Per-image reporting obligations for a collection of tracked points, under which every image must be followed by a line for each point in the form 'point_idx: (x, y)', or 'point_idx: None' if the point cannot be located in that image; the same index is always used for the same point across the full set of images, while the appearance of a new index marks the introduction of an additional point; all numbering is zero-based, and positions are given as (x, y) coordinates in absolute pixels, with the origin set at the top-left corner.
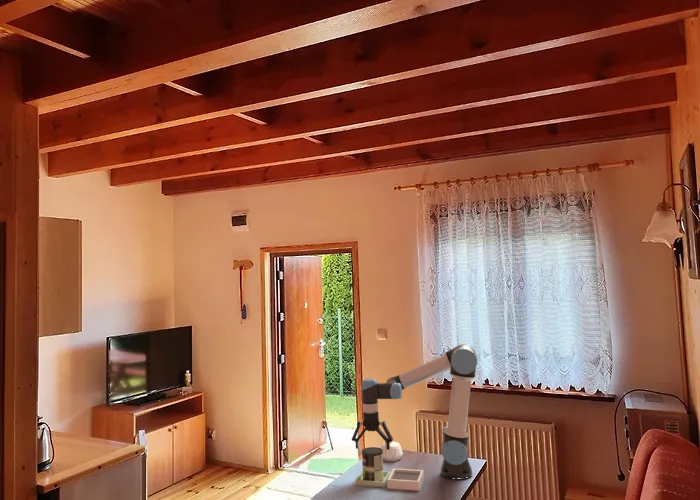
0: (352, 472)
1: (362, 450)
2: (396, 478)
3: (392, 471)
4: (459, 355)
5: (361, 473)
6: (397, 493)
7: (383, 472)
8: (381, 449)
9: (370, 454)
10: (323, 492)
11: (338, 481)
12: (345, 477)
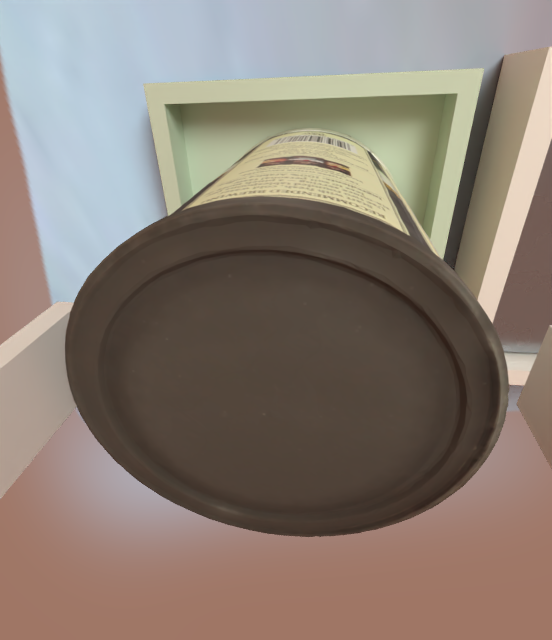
0: (31, 23)
1: (95, 425)
2: (543, 282)
3: (524, 175)
4: None
5: (175, 195)
6: (509, 399)
7: (394, 94)
8: (474, 351)
9: (289, 532)
10: (80, 415)
11: (56, 269)
12: (53, 181)
